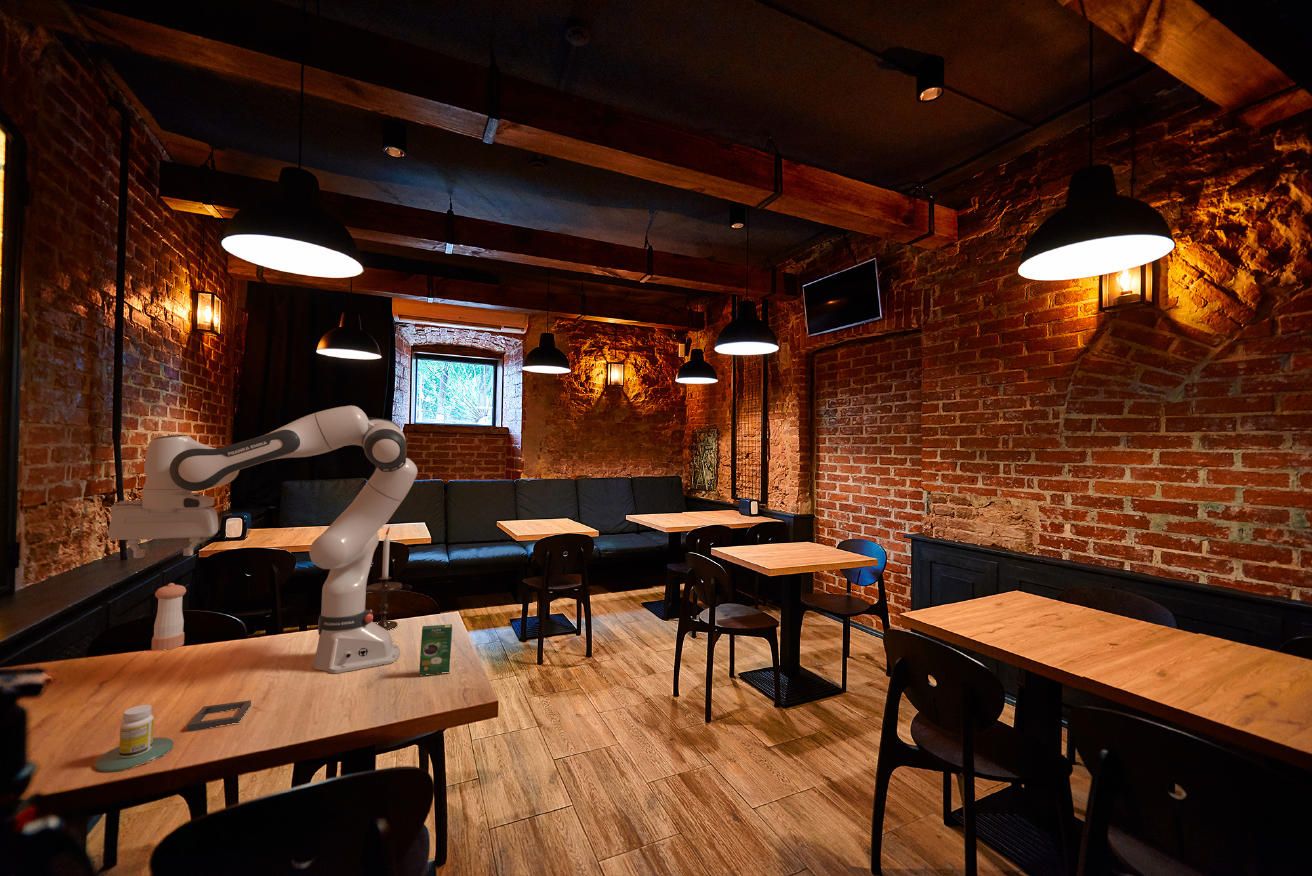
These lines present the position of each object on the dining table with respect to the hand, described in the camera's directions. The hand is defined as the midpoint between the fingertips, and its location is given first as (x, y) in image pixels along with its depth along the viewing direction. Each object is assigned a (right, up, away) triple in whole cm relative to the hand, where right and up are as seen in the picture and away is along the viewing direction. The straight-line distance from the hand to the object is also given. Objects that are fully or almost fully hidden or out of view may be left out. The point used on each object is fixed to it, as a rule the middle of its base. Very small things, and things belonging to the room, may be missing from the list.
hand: (163, 556), depth 130 cm
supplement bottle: (+18, -33, -25) cm, 46 cm away
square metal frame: (+23, -34, -11) cm, 42 cm away
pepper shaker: (-28, -35, +31) cm, 54 cm away
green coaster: (+18, -34, -26) cm, 46 cm away
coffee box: (+60, -36, +16) cm, 72 cm away
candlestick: (+27, -37, +53) cm, 70 cm away
